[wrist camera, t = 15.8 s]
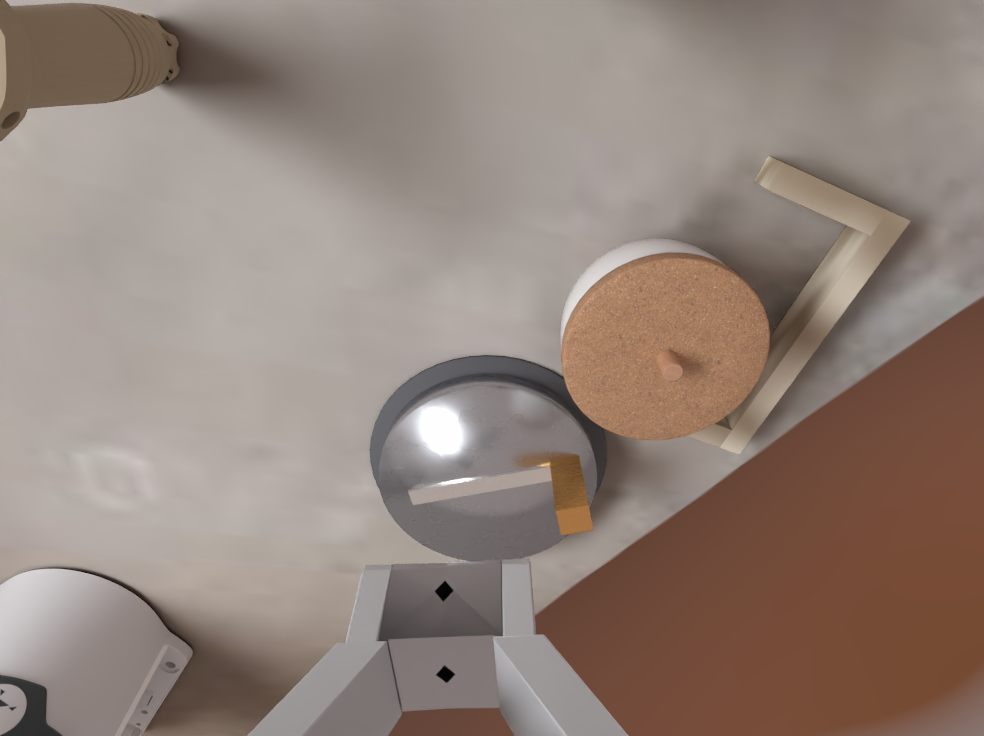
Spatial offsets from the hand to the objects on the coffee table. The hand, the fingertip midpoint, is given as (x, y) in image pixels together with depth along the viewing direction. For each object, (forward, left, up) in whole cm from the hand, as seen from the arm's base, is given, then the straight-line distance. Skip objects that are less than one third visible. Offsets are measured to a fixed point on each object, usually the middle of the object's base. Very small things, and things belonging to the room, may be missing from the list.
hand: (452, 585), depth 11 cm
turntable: (-17, -7, -28) cm, 34 cm away
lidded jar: (-2, -11, -28) cm, 31 cm away
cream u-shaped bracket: (0, -18, -28) cm, 33 cm away
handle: (+1, +19, -28) cm, 34 cm away
